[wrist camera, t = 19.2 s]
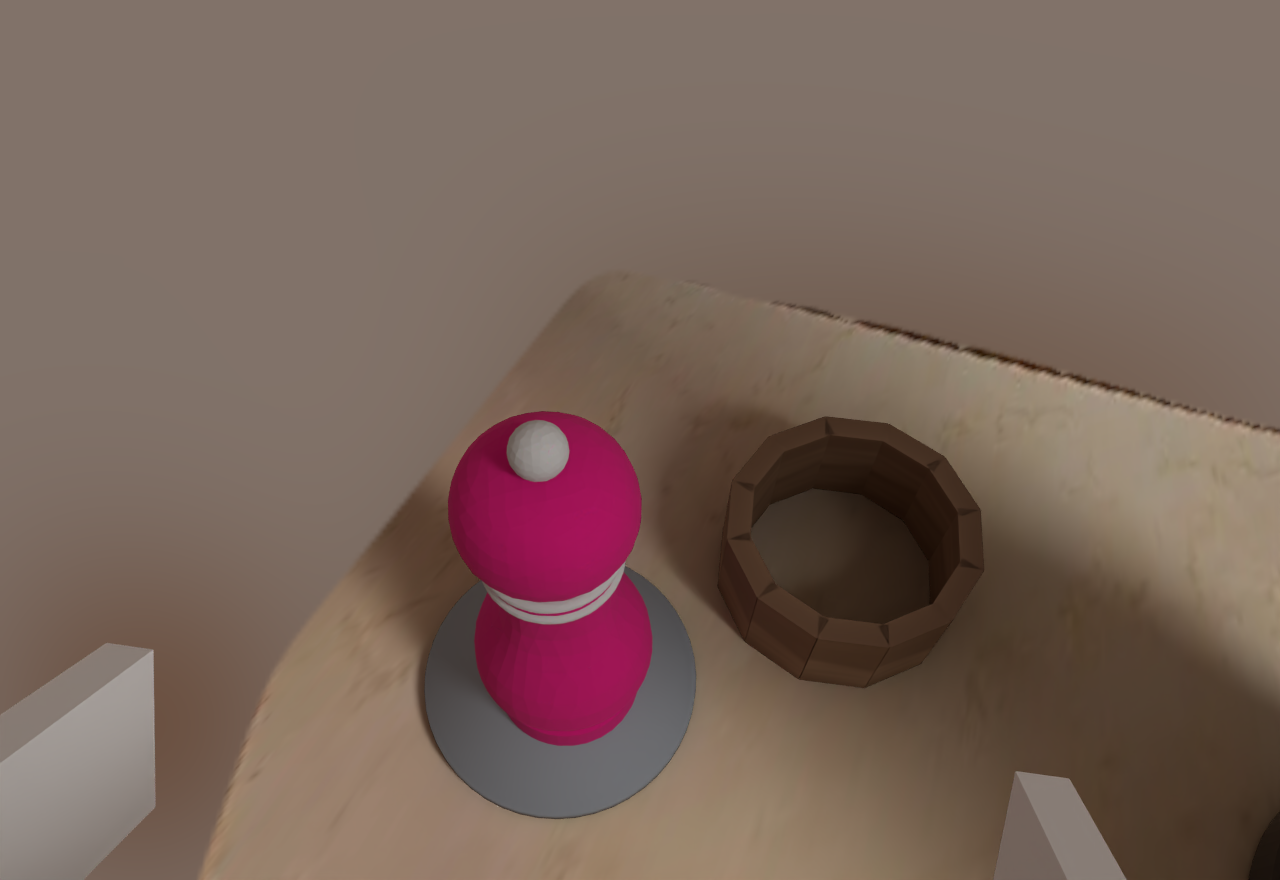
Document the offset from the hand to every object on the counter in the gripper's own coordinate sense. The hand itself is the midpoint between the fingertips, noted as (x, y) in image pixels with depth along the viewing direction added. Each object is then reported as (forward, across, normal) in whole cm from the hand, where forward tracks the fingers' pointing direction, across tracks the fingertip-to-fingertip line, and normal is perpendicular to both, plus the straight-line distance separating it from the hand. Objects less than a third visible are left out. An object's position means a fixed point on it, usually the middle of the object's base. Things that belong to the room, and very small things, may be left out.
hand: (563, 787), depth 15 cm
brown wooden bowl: (+33, +8, -8) cm, 35 cm away
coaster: (+28, -4, -12) cm, 31 cm away
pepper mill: (+28, -4, -12) cm, 31 cm away
